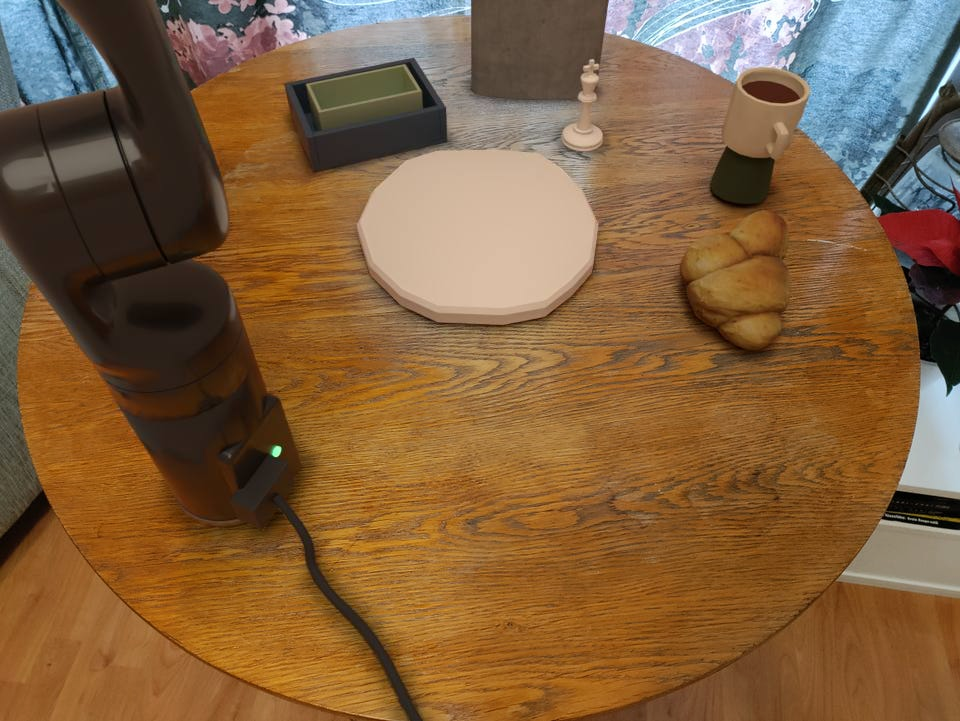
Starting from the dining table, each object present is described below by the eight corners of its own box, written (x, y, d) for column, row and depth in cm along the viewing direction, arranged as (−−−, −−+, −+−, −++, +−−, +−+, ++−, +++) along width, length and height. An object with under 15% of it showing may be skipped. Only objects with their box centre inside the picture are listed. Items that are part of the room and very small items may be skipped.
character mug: (785, 222, 81) (830, 115, 71) (720, 226, 81) (756, 119, 71) (752, 160, 88) (789, 54, 78) (692, 163, 88) (721, 57, 78)
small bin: (408, 101, 94) (405, 63, 90) (424, 128, 91) (421, 90, 87) (312, 121, 92) (305, 83, 88) (325, 150, 88) (318, 112, 84)
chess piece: (555, 131, 92) (562, 52, 84) (593, 124, 93) (603, 45, 85) (570, 154, 89) (579, 75, 81) (609, 147, 90) (622, 68, 82)
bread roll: (792, 362, 69) (823, 301, 63) (684, 357, 70) (705, 297, 63) (765, 263, 77) (791, 201, 71) (669, 260, 78) (686, 197, 71)
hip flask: (595, 84, 98) (618, -84, 83) (597, 102, 96) (621, -68, 80) (471, 81, 98) (471, -87, 83) (470, 99, 96) (469, -71, 80)
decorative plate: (364, 133, 84) (589, 133, 84) (368, 164, 87) (585, 164, 88) (340, 298, 68) (616, 297, 69) (346, 328, 72) (609, 328, 72)
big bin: (416, 91, 97) (414, 57, 93) (447, 142, 90) (446, 107, 87) (291, 117, 93) (283, 83, 90) (313, 172, 86) (306, 137, 83)
